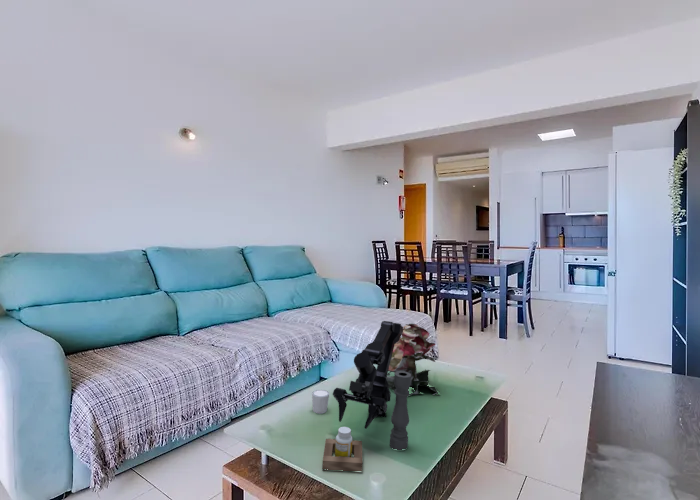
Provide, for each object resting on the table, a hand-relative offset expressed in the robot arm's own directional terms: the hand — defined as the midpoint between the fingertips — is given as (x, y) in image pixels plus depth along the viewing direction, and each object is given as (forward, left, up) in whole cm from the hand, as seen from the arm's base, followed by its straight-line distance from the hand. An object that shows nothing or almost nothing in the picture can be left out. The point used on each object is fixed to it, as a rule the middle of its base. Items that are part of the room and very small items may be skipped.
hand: (352, 424), depth 127 cm
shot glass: (+13, -25, -8) cm, 30 cm away
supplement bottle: (+2, +6, -8) cm, 11 cm away
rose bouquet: (-25, -54, -8) cm, 61 cm away
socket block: (+3, +6, -8) cm, 11 cm away
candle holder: (-16, -3, -8) cm, 18 cm away
